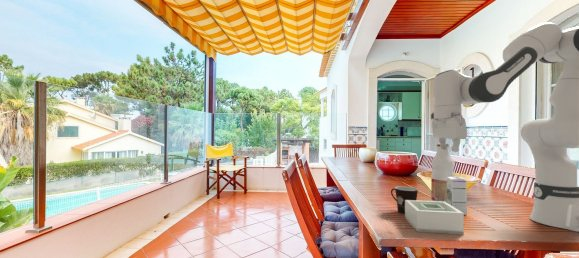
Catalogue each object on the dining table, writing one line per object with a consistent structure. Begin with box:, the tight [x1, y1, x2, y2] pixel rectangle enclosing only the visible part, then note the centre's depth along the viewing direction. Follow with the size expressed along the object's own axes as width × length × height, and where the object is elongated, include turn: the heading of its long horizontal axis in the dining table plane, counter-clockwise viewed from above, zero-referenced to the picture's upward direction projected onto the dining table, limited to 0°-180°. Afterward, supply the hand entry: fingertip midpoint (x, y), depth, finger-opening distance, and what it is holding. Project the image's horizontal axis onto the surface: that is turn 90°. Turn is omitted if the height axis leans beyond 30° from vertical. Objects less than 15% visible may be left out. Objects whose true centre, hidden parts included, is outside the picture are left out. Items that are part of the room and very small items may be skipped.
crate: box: [404, 199, 465, 235], centre depth 96 cm, size 14×14×7 cm
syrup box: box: [447, 176, 468, 216], centre depth 111 cm, size 6×6×14 cm
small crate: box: [419, 203, 445, 211], centre depth 96 cm, size 6×6×6 cm
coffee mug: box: [390, 185, 419, 216], centre depth 112 cm, size 12×9×10 cm
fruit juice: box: [430, 143, 456, 203], centre depth 122 cm, size 9×9×28 cm
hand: (449, 150), depth 100 cm, fingers open, 8 cm apart
